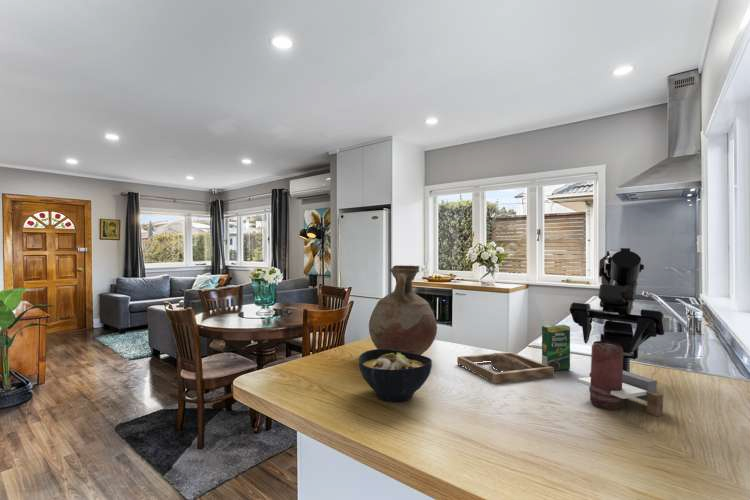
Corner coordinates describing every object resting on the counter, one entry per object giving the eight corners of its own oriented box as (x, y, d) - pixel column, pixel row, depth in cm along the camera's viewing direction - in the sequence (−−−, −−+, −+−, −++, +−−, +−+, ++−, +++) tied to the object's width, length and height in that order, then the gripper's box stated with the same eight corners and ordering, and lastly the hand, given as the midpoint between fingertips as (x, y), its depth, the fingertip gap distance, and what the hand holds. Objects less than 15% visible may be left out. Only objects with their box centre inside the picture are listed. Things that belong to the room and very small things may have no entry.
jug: (429, 350, 130) (431, 264, 130) (443, 370, 108) (446, 267, 108) (367, 349, 128) (369, 263, 129) (369, 369, 107) (371, 265, 107)
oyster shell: (527, 378, 103) (527, 360, 103) (483, 369, 111) (484, 352, 111) (536, 370, 111) (536, 354, 111) (494, 362, 118) (495, 346, 118)
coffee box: (546, 371, 109) (547, 326, 109) (540, 368, 112) (541, 324, 112) (570, 370, 111) (571, 326, 111) (563, 367, 114) (564, 324, 114)
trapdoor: (610, 384, 94) (611, 366, 94) (660, 401, 83) (660, 381, 83) (576, 388, 90) (577, 370, 90) (624, 407, 79) (624, 387, 79)
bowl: (392, 378, 100) (393, 341, 100) (445, 397, 88) (446, 354, 88) (343, 393, 88) (344, 351, 88) (396, 418, 76) (398, 368, 76)
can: (582, 398, 88) (584, 340, 87) (608, 397, 88) (610, 339, 88) (600, 411, 82) (603, 348, 81) (627, 410, 82) (630, 347, 82)
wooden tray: (510, 359, 121) (510, 351, 121) (553, 376, 105) (553, 367, 105) (457, 364, 114) (457, 356, 114) (495, 383, 98) (495, 374, 98)
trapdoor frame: (594, 389, 95) (595, 372, 95) (662, 415, 80) (663, 394, 80) (589, 390, 94) (589, 372, 94) (656, 416, 80) (657, 395, 80)
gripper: (572, 270, 95) (555, 318, 87) (664, 274, 82) (653, 331, 74) (582, 299, 101) (566, 346, 93) (669, 307, 87) (660, 363, 80)
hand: (607, 346), depth 85 cm, fingers open, 9 cm apart
